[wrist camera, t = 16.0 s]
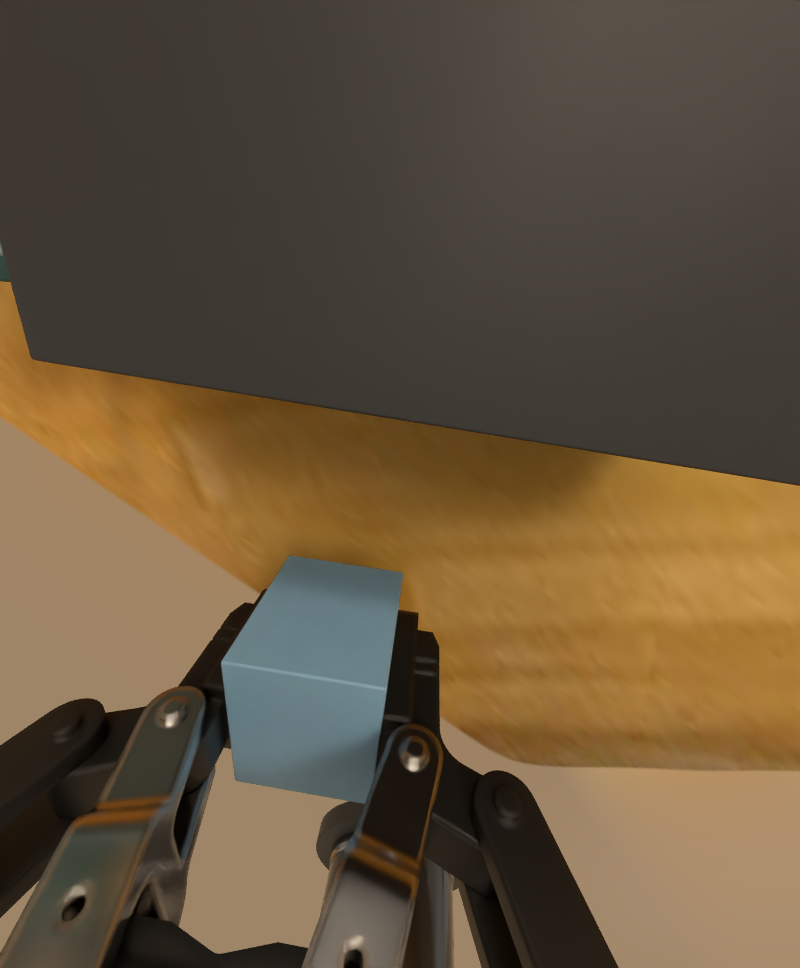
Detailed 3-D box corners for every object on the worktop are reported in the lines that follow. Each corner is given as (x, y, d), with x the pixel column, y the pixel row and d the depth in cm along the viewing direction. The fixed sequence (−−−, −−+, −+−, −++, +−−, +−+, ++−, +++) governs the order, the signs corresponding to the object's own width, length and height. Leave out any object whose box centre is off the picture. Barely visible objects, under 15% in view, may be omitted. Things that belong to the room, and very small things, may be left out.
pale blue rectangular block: (389, 671, 13) (369, 806, 10) (290, 655, 13) (234, 781, 10) (403, 571, 11) (387, 689, 8) (288, 554, 12) (219, 662, 8)
